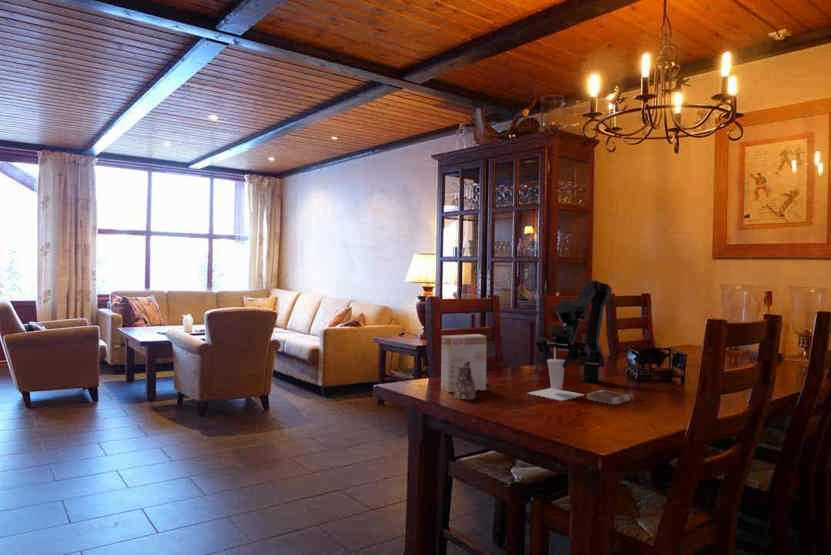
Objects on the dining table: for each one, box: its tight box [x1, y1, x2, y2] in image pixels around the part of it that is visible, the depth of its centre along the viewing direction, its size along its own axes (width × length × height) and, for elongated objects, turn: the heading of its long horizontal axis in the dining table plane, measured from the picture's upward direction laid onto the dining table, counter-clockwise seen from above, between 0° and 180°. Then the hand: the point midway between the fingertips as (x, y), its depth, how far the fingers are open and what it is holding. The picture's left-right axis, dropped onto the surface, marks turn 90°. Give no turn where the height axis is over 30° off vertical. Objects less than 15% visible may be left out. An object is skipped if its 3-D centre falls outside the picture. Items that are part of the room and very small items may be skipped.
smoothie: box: [547, 347, 566, 390], centre depth 205 cm, size 6×6×14 cm
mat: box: [526, 387, 586, 402], centre depth 205 cm, size 14×14×1 cm
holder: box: [586, 389, 631, 406], centre depth 198 cm, size 10×10×2 cm
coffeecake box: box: [440, 333, 487, 393], centre depth 211 cm, size 15×7×20 cm, turn 110°
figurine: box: [453, 361, 476, 401], centre depth 199 cm, size 7×7×12 cm
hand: (554, 366), depth 204 cm, fingers closed on smoothie, 6 cm apart
